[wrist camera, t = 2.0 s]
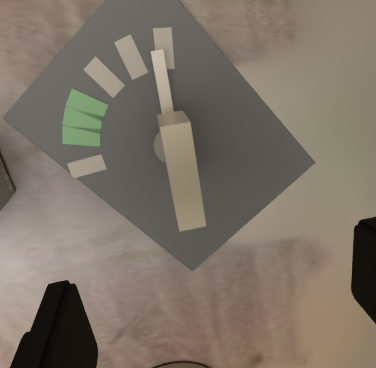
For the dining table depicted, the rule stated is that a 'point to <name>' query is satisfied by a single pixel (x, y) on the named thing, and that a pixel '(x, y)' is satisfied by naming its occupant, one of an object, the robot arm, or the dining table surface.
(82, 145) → the tuner board
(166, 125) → the beige block on stand
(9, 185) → the skincare box
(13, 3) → the dining table surface
